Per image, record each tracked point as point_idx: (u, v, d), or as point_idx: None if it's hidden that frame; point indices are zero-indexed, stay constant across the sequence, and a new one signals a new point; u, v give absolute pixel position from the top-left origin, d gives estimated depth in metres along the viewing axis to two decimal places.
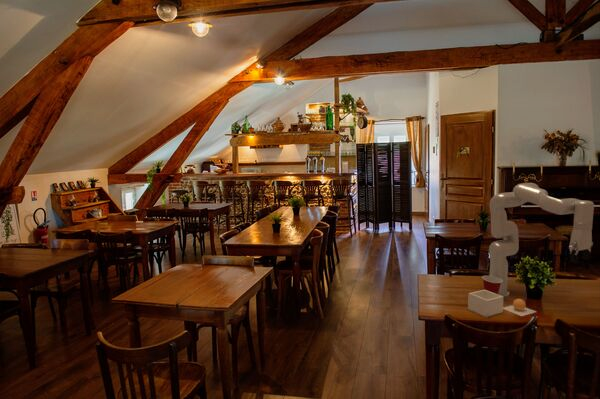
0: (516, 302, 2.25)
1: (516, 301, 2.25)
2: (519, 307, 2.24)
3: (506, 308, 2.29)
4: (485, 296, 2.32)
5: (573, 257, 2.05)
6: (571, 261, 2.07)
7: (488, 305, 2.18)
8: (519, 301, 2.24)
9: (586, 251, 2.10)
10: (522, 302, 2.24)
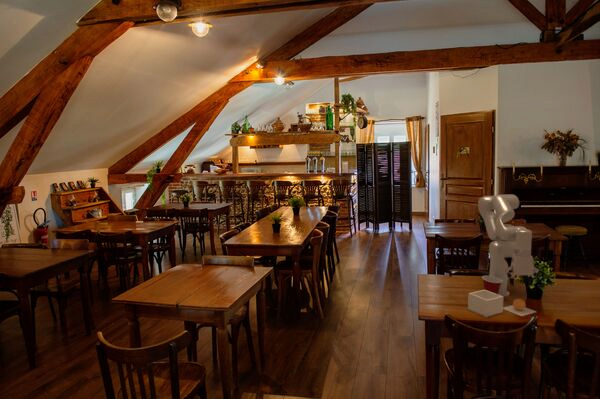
0: (516, 302, 2.25)
1: (516, 301, 2.25)
2: (519, 307, 2.24)
3: (506, 308, 2.29)
4: (485, 296, 2.32)
5: None
6: (531, 285, 2.23)
7: (488, 305, 2.18)
8: (519, 301, 2.24)
9: None
10: (522, 302, 2.24)
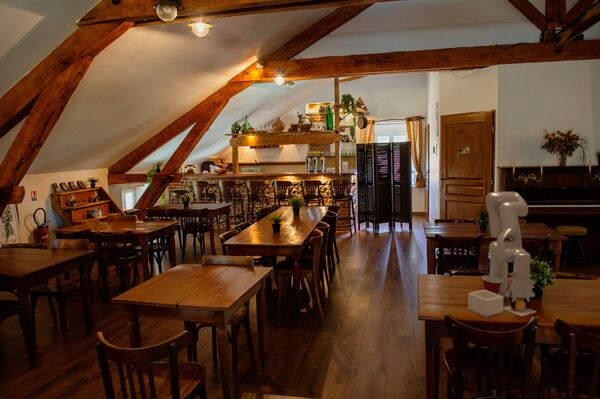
0: (516, 302, 2.25)
1: (516, 301, 2.25)
2: (519, 307, 2.24)
3: (506, 308, 2.29)
4: (485, 296, 2.32)
5: None
6: (526, 308, 2.26)
7: (488, 305, 2.18)
8: (519, 301, 2.24)
9: None
10: (522, 302, 2.24)
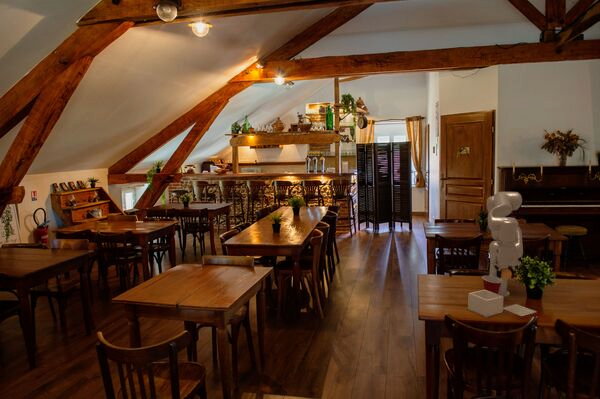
0: (502, 271, 2.22)
1: (502, 270, 2.23)
2: (505, 276, 2.21)
3: (506, 308, 2.29)
4: (485, 296, 2.32)
5: None
6: (512, 277, 2.23)
7: (488, 305, 2.18)
8: (505, 270, 2.22)
9: None
10: (508, 271, 2.21)
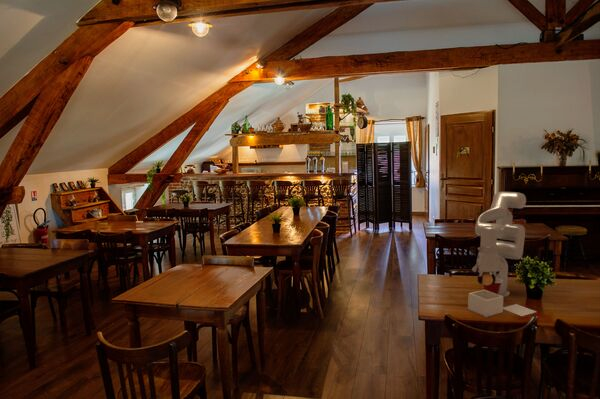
0: (483, 277, 2.23)
1: (483, 276, 2.23)
2: (486, 282, 2.22)
3: (506, 308, 2.29)
4: (485, 296, 2.32)
5: None
6: None
7: (488, 305, 2.18)
8: (486, 276, 2.22)
9: None
10: (489, 277, 2.22)
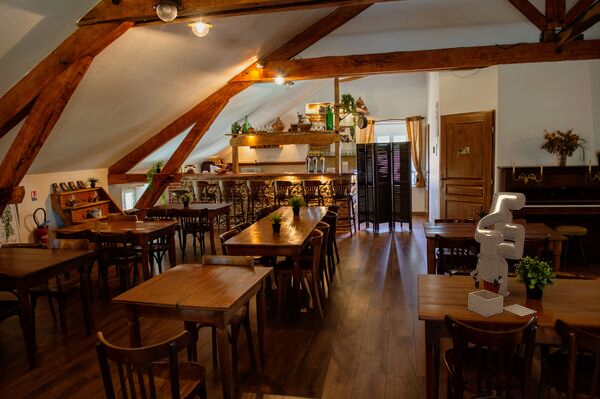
0: None
1: None
2: None
3: (506, 308, 2.29)
4: (485, 296, 2.32)
5: None
6: (496, 288, 2.24)
7: (488, 305, 2.18)
8: None
9: None
10: None
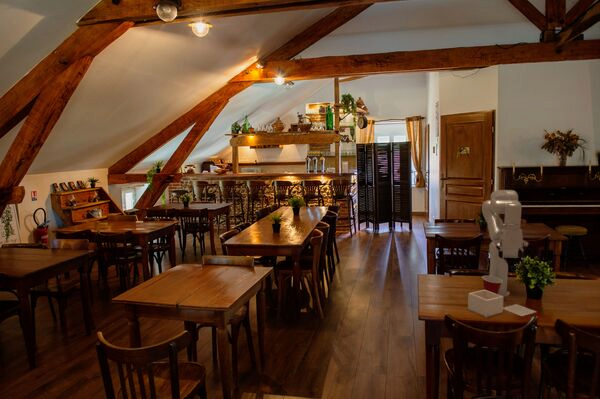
0: None
1: None
2: None
3: (506, 308, 2.29)
4: (485, 296, 2.32)
5: None
6: (520, 258, 2.25)
7: (488, 305, 2.18)
8: None
9: None
10: None
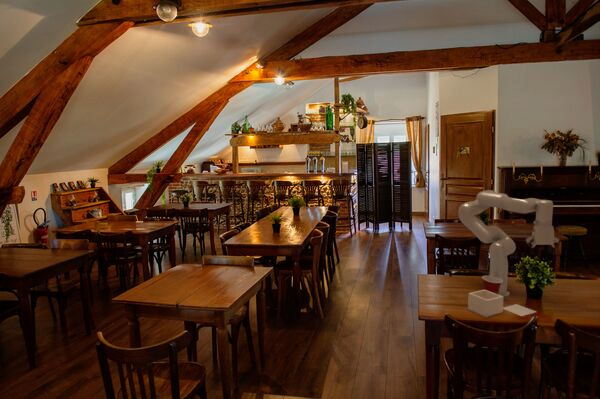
0: None
1: None
2: None
3: (506, 308, 2.29)
4: (485, 296, 2.32)
5: None
6: None
7: (488, 305, 2.18)
8: None
9: None
10: None
